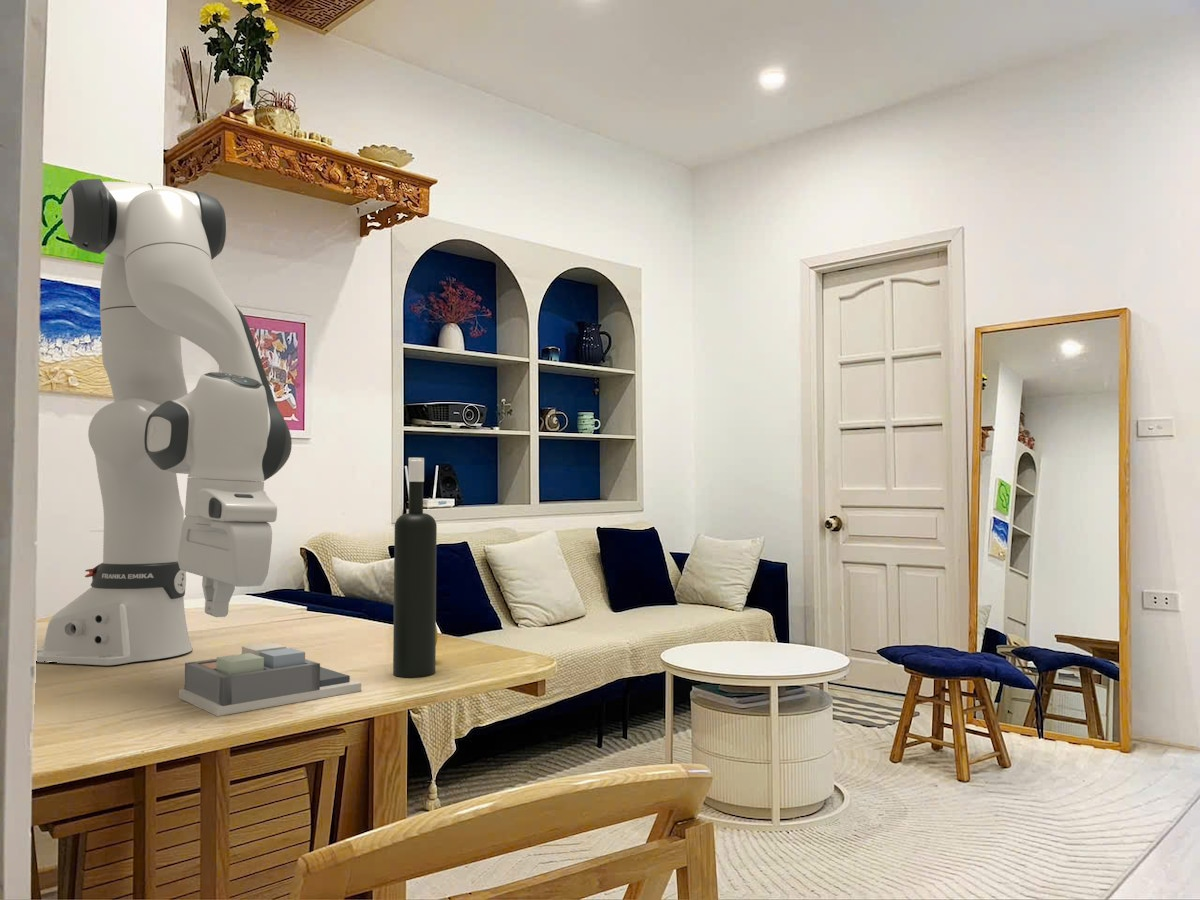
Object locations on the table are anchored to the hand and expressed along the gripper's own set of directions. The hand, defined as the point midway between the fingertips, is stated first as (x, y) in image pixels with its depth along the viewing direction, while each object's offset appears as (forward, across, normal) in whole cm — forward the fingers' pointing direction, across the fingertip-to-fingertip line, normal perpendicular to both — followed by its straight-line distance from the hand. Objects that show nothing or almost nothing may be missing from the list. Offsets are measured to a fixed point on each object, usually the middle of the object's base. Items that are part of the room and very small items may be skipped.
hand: (216, 615), depth 111 cm
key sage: (+6, +6, +1) cm, 9 cm away
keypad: (+10, +4, +6) cm, 12 cm away
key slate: (+6, +6, +6) cm, 11 cm away
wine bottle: (+9, +5, +26) cm, 28 cm away
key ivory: (+6, +1, +6) cm, 9 cm away
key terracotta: (+8, +1, +1) cm, 8 cm away
